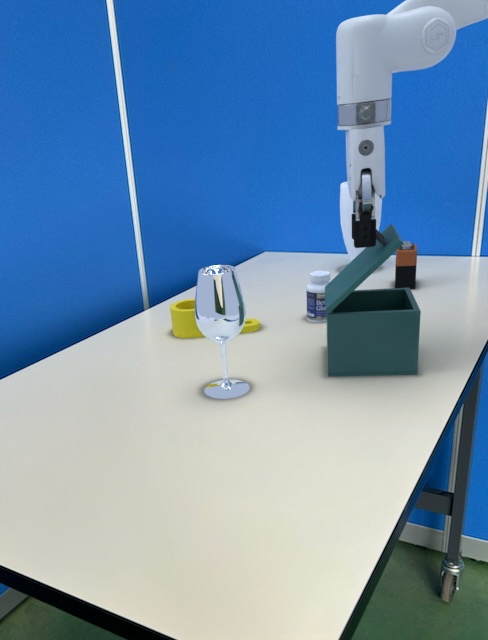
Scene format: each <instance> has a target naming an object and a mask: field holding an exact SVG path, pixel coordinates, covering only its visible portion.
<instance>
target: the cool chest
mask: <svg viewBox="0 0 488 640" xmlns="http://www.w3.org/2000/svg"><path fill="white" fill-rule="evenodd" d="M421 313H422V312H421V309H420V306H419V305H418V302H417V300H416V298H415V296H414V294H413V292H412V289H410V288H395V287H394V288H377V289H376V288H374V289H373V288H372V289H371V288H370V289H355V290H354V291H353V292H352V293H351V294H350V295H349V296H347V297H346V298H345V299H344V300H343V301H342V302H341V303H340V304H339V305H338V306H337V307H336V308H335V309H333V310H332V311H331V312H330V313H328V312H327V322H326V362H327V363H326V364H327V367H326V368H327V377H329V378H331V377H335V378H336V377H376V376H380V377H381V376H382V377H383V376H417V375H418V365H419V363H418V362H419V349H420V329H421Z"/></svg>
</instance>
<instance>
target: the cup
mask: <svg viewBox="0 0 488 640" xmlns="http://www.w3.org/2000/svg"><path fill="white" fill-rule="evenodd" d="M339 188H340V189H339V191H340V192H339V216H340V217H339V218H340V219H339V220H340V228H341V234H342V238H343V243H344V245H345V248H346V252H347V254H348V257H349V259H350V261H352V260H353V259H355V258H356V257H357V256H358V255H359V254H360V253H361V252H362V251H363V250H364V249H365V248H366V247H364V248H355V247H354V240H353V239H352V214H356V213H353V200H352V199H351V197H350V194H349V189H348V181H347V180H346V181H343V182H342V183H340V185H339ZM382 208H383V198H382V199H380V197H379V196H377V194H376V193H375V219H376V229H377V230H378V231H379V230H380V226H381V222H382V221H381V220H382ZM379 232H380V231H379Z"/></svg>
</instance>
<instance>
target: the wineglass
mask: <svg viewBox="0 0 488 640" xmlns="http://www.w3.org/2000/svg"><path fill="white" fill-rule="evenodd" d="M194 299H195V318H196V323H197V326H198V328H199V330H200V331H201V332H202V334H203V335H204V336H206V337H205V338H207V339H208V340H210V341H213V342H216V343H218V345H219V348H220V352H221V361H222V364H221V365H222V373H223V377H222V380H217V381H214V382H211V383H209V384H208V385H206V386H205V387H204V391H203V392H204V394H205V395H206V396H208V397H210V398H213V399H221V400H225V399H227V400H229V399H234V398H237V397H241V396H243V395H245V394H247V393H248V392H249V390H250V385H249V384H248V383H247V382H246V381H243V380H239V379H230V378H229V374H228V373H229V371H228V362H227V344H228V342H230V341H231V340H233V339H235V338H236V337H237V336H238V335H239V334H241V333H240V332H241V330H242V328H243V326H244V324H245V320H246V319H247V317H246V316H247V311H246V304H245V299H244V294H243V291H242V287H241V282H240V280H239V276H238V274H237V270H236V267H235V266H233V265H229V264H217V265H210V266H206V267H202V268H200V269H199V270H198V272H197V280H196V287H195V298H194Z"/></svg>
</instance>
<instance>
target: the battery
mask: <svg viewBox="0 0 488 640" xmlns="http://www.w3.org/2000/svg"><path fill="white" fill-rule="evenodd" d="M403 243H404V244H403V245H402V246H401V247H400V248H399V249H398V250H397V251H396V252H395V271H394V272H395V273H394V288H410V289H411V290H416V283H417V282H416V280H417V262H418V245H417V243H411V241H410V240H404V241H403Z"/></svg>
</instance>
